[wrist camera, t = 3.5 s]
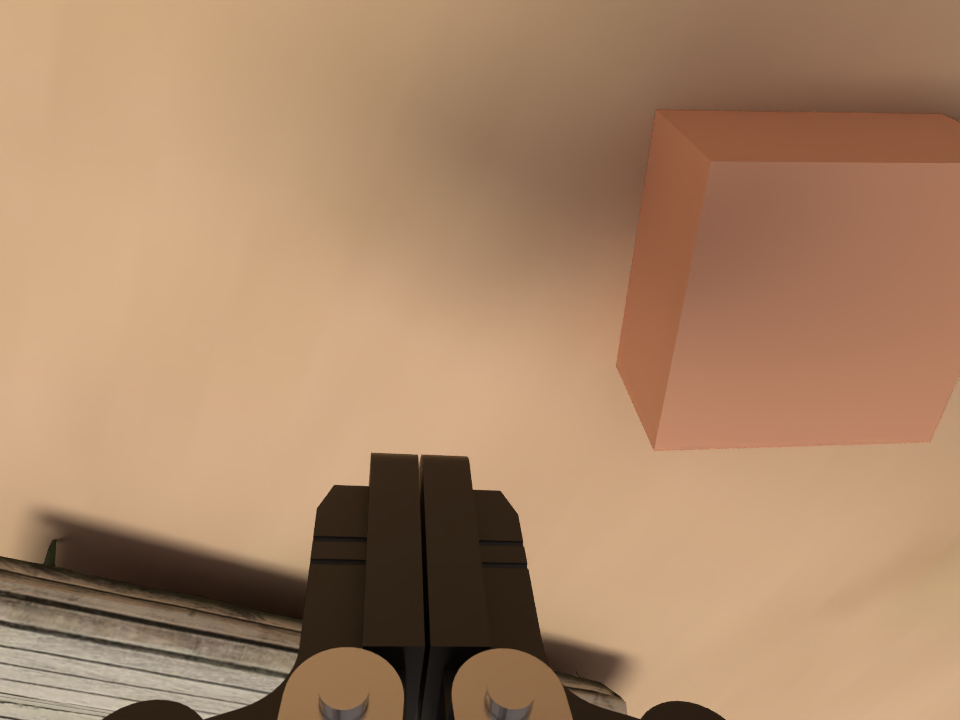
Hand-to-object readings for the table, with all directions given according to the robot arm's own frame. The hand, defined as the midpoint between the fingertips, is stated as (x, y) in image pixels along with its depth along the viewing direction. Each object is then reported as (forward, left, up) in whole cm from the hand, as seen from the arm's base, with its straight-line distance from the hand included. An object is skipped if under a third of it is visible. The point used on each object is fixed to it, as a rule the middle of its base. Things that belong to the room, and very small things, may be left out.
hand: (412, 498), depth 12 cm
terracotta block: (+11, 0, -11) cm, 16 cm away
